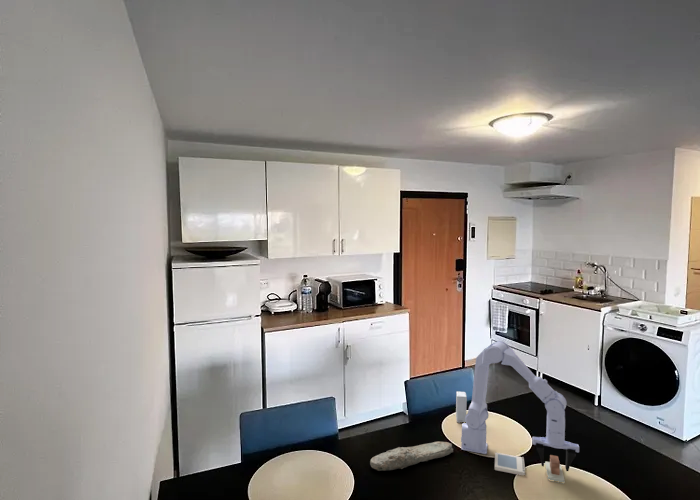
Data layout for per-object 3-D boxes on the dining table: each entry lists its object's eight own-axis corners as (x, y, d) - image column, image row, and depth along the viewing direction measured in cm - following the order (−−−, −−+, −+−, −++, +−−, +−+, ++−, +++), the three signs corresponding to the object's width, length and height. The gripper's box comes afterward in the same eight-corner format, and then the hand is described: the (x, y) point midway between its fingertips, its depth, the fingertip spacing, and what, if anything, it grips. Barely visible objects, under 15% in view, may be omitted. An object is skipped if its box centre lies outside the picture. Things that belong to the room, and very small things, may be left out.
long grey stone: (459, 460, 151) (443, 448, 160) (459, 446, 151) (444, 435, 160) (377, 476, 137) (365, 462, 146) (377, 461, 137) (365, 448, 147)
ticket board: (494, 469, 142) (494, 466, 142) (495, 455, 151) (495, 451, 151) (525, 475, 138) (525, 472, 138) (523, 460, 147) (523, 457, 147)
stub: (548, 480, 135) (548, 465, 135) (545, 464, 145) (545, 450, 145) (564, 483, 134) (564, 468, 133) (560, 467, 143) (560, 453, 143)
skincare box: (466, 423, 176) (466, 397, 176) (456, 422, 177) (456, 396, 177) (465, 417, 182) (465, 391, 182) (455, 416, 183) (456, 391, 183)
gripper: (577, 427, 140) (576, 465, 140) (532, 420, 145) (531, 456, 145) (580, 437, 133) (579, 476, 134) (533, 429, 138) (532, 467, 139)
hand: (554, 467), depth 139 cm, fingers open, 7 cm apart
